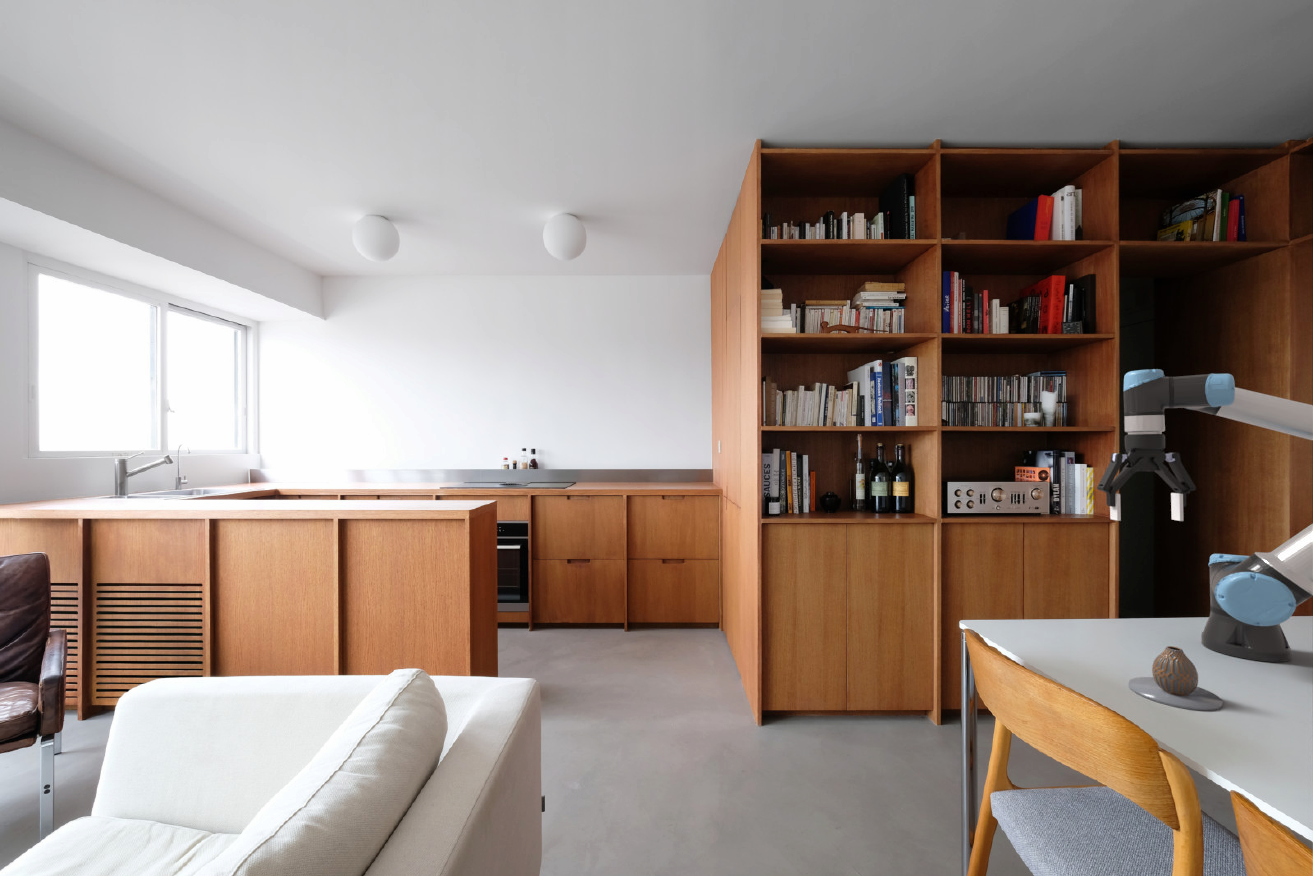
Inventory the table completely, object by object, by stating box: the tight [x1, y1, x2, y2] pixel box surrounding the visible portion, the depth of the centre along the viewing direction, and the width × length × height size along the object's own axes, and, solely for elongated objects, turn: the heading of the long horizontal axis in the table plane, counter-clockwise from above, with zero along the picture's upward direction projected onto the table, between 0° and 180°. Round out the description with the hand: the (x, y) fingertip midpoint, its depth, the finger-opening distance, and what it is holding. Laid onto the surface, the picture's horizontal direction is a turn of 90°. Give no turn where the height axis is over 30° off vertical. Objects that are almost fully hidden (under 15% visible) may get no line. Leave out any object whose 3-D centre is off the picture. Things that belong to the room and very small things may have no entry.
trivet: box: [1128, 676, 1223, 712], centre depth 115 cm, size 14×14×1 cm
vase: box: [1151, 645, 1199, 696], centre depth 115 cm, size 7×7×9 cm
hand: (1146, 520), depth 140 cm, fingers open, 13 cm apart
